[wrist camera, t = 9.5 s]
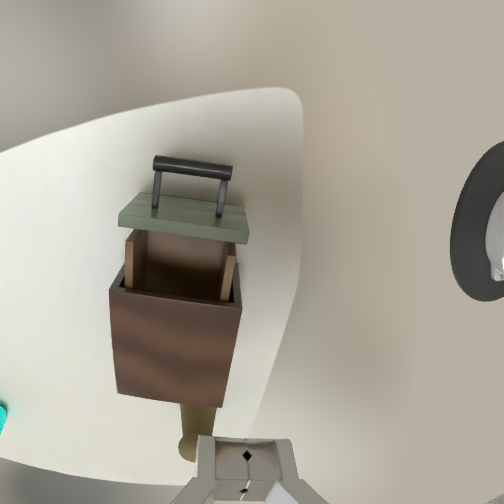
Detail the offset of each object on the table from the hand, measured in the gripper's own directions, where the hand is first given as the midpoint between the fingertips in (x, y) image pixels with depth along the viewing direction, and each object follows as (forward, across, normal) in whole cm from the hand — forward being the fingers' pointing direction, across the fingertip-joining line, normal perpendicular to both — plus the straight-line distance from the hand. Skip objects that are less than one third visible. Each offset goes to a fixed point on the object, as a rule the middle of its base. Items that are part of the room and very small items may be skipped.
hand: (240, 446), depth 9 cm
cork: (+29, 0, +32) cm, 43 cm away
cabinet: (+29, +4, +14) cm, 32 cm away
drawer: (+28, +4, +4) cm, 28 cm away
